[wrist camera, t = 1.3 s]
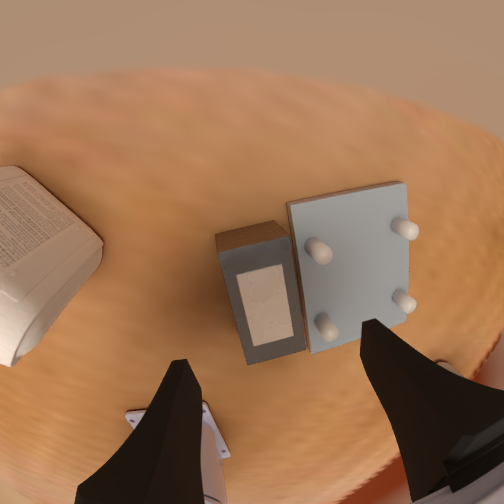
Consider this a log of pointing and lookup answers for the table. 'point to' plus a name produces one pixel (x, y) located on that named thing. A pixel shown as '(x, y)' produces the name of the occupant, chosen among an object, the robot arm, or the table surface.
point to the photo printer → (37, 261)
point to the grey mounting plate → (352, 261)
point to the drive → (262, 290)
